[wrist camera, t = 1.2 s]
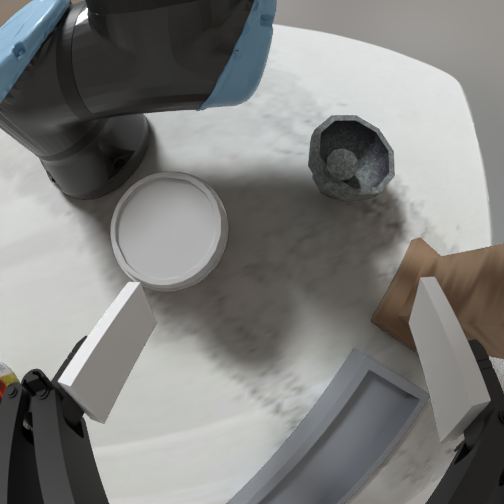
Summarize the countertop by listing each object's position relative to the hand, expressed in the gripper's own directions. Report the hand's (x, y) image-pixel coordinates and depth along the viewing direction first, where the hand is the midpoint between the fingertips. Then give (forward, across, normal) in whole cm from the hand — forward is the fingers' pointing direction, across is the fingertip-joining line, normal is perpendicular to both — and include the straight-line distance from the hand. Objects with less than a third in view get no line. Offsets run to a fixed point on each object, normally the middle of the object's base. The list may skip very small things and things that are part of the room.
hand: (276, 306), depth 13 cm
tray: (+4, +4, -30) cm, 31 cm away
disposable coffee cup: (+17, -12, -6) cm, 22 cm away
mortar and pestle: (+26, +5, -2) cm, 26 cm away
